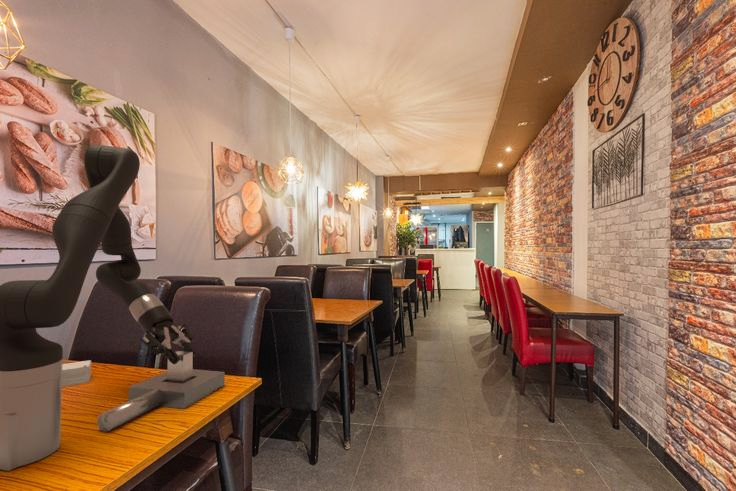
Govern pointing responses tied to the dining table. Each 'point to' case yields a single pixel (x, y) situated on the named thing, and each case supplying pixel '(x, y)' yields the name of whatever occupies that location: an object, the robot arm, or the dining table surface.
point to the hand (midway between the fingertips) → (185, 358)
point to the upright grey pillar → (181, 368)
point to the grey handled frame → (161, 396)
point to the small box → (76, 373)
